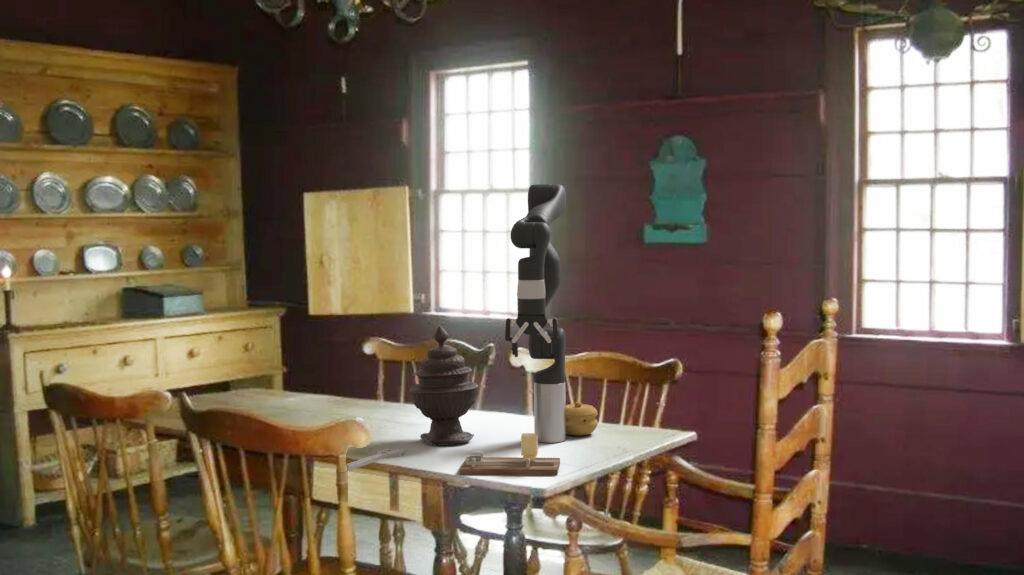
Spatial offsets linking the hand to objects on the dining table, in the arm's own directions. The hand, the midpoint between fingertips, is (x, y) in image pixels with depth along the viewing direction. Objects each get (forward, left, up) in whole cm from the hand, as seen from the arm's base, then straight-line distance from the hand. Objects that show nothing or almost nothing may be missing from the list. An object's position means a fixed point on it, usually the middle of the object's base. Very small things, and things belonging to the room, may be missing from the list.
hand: (532, 356), depth 297 cm
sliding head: (+11, 0, -26) cm, 28 cm away
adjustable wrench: (+3, -44, -29) cm, 53 cm away
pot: (-36, +11, -28) cm, 47 cm away
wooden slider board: (+11, -5, -28) cm, 31 cm away
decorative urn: (-24, -28, -28) cm, 46 cm away
